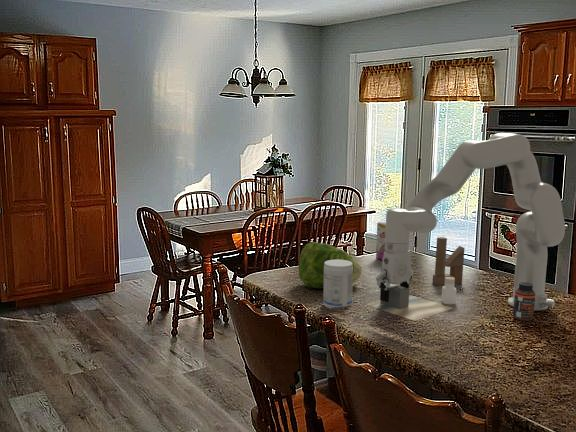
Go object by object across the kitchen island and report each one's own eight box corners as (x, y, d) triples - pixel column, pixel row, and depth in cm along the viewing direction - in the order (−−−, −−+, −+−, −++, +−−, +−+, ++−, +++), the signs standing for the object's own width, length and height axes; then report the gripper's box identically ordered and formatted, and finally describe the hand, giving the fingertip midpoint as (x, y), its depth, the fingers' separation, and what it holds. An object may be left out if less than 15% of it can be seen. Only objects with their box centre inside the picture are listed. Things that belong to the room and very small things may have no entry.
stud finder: (408, 306, 188) (409, 287, 187) (399, 309, 185) (400, 290, 184) (389, 300, 194) (390, 282, 193) (380, 303, 191) (381, 284, 190)
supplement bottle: (520, 322, 179) (523, 286, 177) (508, 316, 184) (511, 281, 182) (537, 320, 180) (540, 285, 178) (524, 314, 186) (527, 280, 184)
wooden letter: (462, 284, 220) (465, 237, 217) (437, 286, 217) (439, 239, 214) (456, 281, 223) (459, 235, 220) (432, 283, 220) (434, 237, 217)
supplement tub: (341, 300, 198) (342, 257, 196) (357, 307, 190) (359, 264, 188) (317, 304, 193) (318, 260, 191) (333, 312, 185) (334, 267, 183)
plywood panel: (453, 311, 188) (454, 308, 187) (414, 324, 175) (414, 320, 175) (404, 296, 203) (405, 293, 203) (365, 307, 190) (365, 304, 190)
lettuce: (355, 301, 217) (373, 277, 205) (295, 294, 210) (311, 269, 199) (348, 265, 228) (366, 240, 216) (292, 257, 221) (306, 231, 209)
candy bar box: (375, 258, 259) (376, 222, 256) (383, 257, 261) (385, 221, 258) (391, 264, 249) (393, 226, 246) (400, 263, 252) (402, 225, 249)
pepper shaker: (452, 303, 196) (454, 276, 194) (456, 307, 192) (457, 279, 190) (440, 303, 196) (442, 276, 194) (444, 307, 192) (445, 279, 190)
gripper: (387, 252, 178) (385, 306, 181) (423, 245, 189) (420, 296, 192) (369, 248, 184) (367, 300, 187) (404, 241, 195) (402, 291, 198)
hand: (394, 298), depth 189 cm, fingers open, 9 cm apart
